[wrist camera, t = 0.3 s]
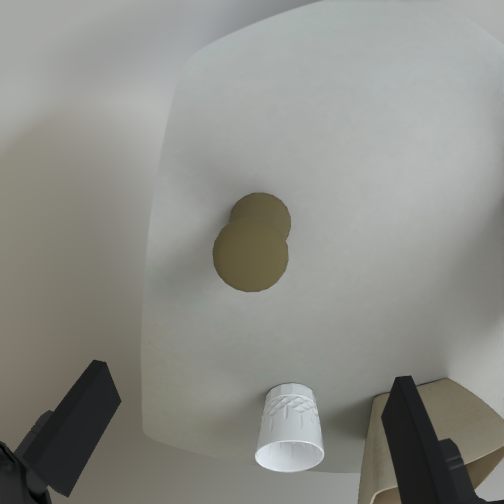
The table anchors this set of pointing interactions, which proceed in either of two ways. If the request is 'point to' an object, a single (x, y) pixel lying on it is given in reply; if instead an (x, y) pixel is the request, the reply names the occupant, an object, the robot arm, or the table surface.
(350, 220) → the table surface
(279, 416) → the white cup
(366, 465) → the flower pot
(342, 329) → the table surface
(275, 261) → the olive pawn
